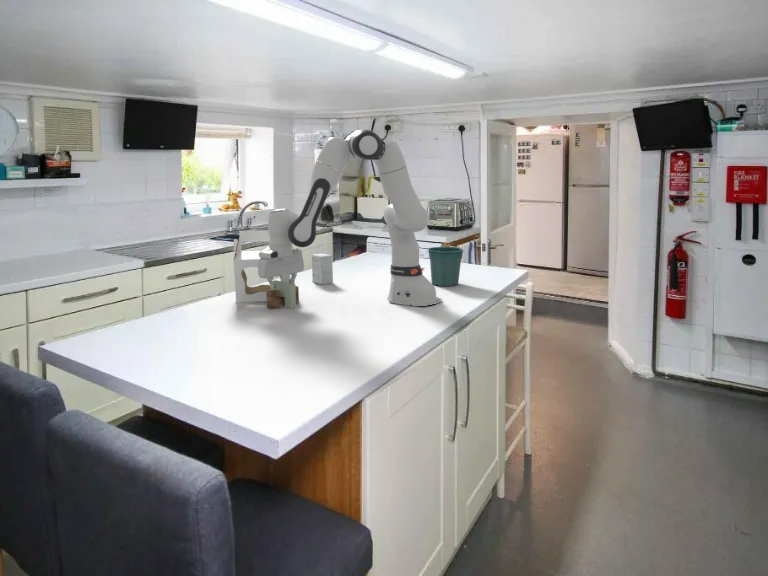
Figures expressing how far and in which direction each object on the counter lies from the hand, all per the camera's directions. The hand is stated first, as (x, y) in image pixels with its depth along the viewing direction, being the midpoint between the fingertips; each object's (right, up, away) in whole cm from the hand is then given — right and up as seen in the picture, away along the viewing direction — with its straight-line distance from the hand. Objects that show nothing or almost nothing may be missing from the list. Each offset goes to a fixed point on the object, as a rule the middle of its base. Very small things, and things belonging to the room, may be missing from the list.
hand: (282, 286), depth 226 cm
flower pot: (+67, +1, +39) cm, 78 cm away
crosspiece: (0, -8, +2) cm, 8 cm away
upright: (0, -8, +2) cm, 8 cm away
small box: (+11, +2, +43) cm, 44 cm away
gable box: (-10, -5, +14) cm, 18 cm away
